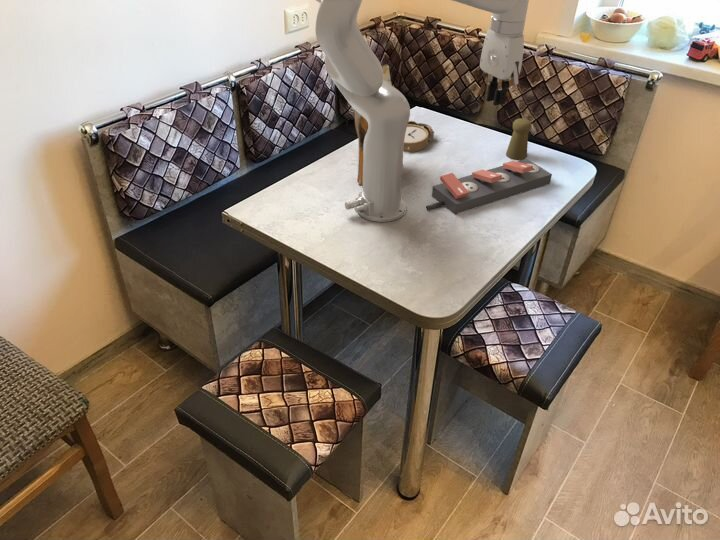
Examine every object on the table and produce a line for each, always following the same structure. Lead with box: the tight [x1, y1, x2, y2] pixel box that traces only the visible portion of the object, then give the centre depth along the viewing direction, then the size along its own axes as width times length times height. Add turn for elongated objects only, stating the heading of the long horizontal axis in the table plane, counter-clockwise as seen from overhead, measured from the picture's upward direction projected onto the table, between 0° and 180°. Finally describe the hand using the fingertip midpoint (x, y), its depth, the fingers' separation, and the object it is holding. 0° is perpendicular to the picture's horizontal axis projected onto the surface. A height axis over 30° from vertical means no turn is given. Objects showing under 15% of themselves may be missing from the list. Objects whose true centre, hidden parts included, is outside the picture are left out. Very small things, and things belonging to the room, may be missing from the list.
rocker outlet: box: [502, 160, 533, 173], centre depth 165 cm, size 4×8×2 cm, turn 30°
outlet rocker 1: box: [439, 172, 469, 199], centre depth 157 cm, size 4×8×2 cm, turn 30°
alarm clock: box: [403, 120, 435, 153], centre depth 185 cm, size 11×5×15 cm
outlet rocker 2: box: [471, 169, 502, 183], centre depth 161 cm, size 4×8×2 cm, turn 30°
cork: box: [505, 117, 532, 161], centre depth 177 cm, size 6×6×11 cm
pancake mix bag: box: [353, 63, 393, 186], centre depth 162 cm, size 7×19×28 cm, turn 143°
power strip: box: [425, 158, 553, 215], centre depth 162 cm, size 37×10×3 cm, turn 120°
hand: (495, 101), depth 153 cm, fingers closed
